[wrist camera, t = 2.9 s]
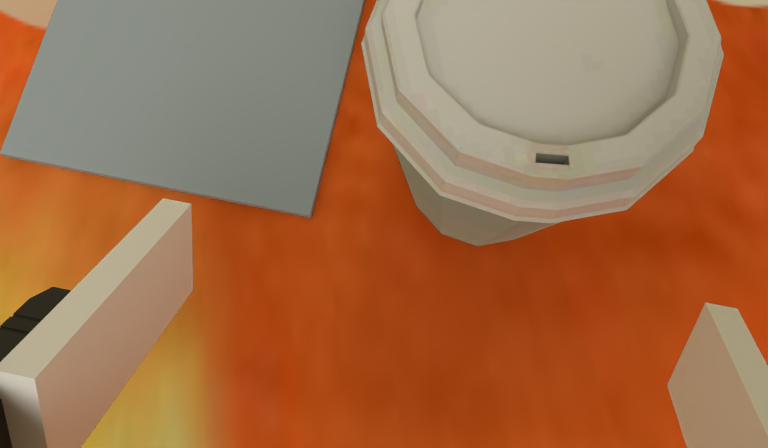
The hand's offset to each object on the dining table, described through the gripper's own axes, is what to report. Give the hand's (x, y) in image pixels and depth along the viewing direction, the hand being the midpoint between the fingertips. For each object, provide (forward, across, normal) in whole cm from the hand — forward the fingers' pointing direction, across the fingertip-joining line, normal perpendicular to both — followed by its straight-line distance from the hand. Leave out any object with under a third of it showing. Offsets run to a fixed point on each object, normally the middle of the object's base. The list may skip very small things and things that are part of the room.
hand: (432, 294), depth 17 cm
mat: (+21, -14, +1) cm, 25 cm away
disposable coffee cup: (+16, +2, -4) cm, 17 cm away
